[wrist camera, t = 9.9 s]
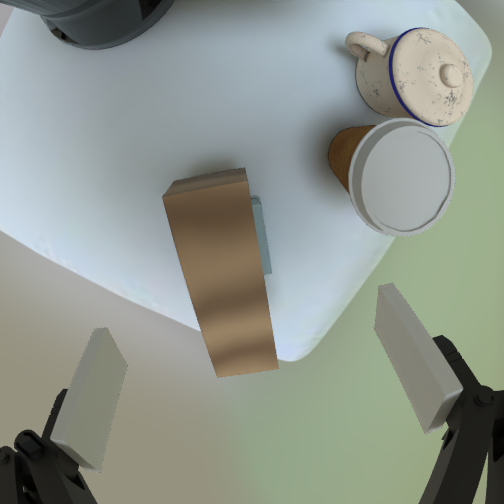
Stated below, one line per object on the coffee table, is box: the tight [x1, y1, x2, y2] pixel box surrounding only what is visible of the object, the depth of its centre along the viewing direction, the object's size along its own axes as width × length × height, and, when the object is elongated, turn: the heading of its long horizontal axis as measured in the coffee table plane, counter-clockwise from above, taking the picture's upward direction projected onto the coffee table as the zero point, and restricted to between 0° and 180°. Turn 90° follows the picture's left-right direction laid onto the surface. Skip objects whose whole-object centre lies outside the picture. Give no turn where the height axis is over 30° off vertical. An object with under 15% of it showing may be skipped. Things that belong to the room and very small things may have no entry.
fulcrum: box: [251, 198, 272, 275], centre depth 32 cm, size 8×8×6 cm
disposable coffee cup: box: [328, 118, 455, 236], centre depth 26 cm, size 10×10×12 cm
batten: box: [162, 167, 279, 377], centre depth 27 cm, size 18×6×5 cm, turn 9°
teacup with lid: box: [345, 28, 473, 127], centre depth 22 cm, size 12×9×12 cm
